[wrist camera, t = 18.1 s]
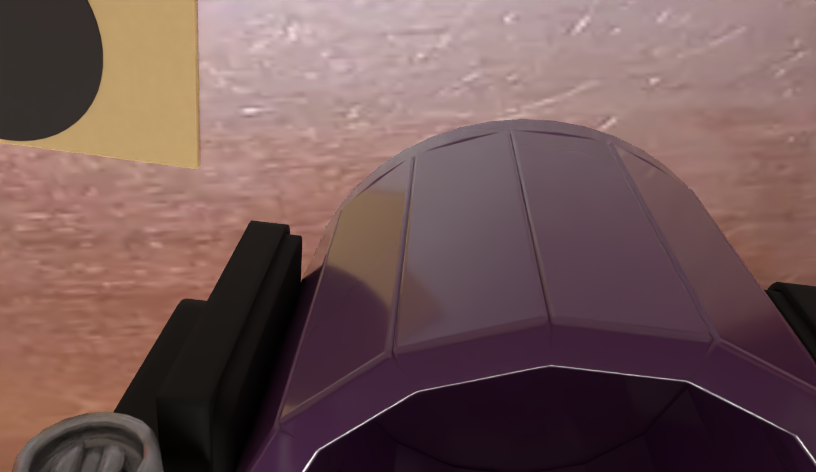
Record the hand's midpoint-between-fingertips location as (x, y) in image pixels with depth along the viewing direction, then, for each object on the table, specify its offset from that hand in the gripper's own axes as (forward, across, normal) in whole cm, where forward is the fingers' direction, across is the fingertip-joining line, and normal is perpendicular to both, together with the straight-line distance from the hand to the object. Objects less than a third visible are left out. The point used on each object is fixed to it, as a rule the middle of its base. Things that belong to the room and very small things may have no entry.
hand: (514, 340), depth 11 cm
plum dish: (+1, 0, 0) cm, 1 cm away
